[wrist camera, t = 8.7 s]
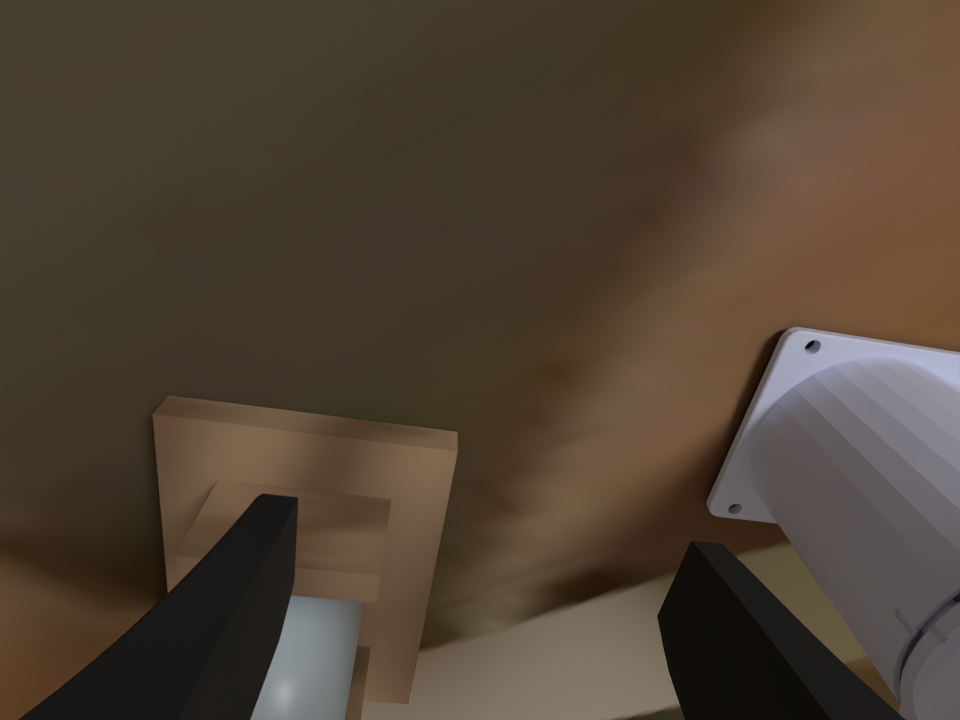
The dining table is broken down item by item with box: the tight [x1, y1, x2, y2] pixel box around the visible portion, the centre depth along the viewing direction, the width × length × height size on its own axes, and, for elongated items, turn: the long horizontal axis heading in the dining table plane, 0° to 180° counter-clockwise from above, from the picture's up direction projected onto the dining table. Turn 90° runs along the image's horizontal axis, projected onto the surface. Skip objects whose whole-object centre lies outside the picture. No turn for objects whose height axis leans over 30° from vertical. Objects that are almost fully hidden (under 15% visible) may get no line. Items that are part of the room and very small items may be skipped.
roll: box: [250, 595, 364, 720], centre depth 20 cm, size 5×5×7 cm
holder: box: [152, 395, 458, 720], centre depth 22 cm, size 10×14×5 cm
